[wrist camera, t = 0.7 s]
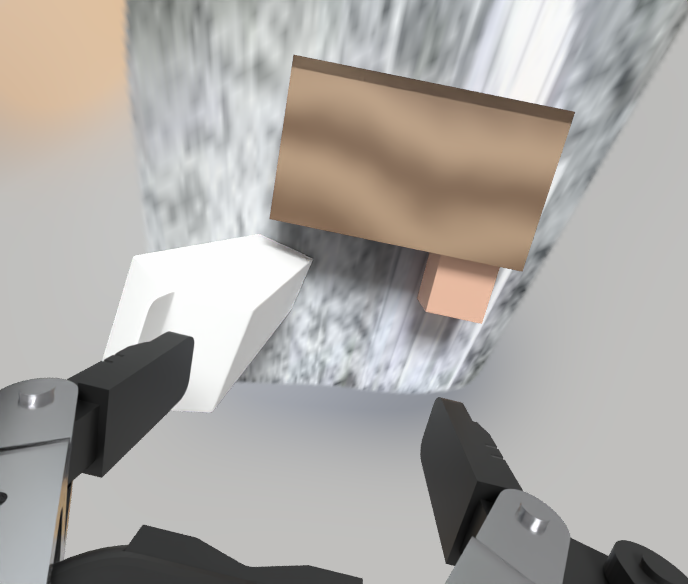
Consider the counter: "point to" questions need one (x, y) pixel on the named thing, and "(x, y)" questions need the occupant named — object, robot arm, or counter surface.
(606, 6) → the counter surface
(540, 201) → the wooden bench
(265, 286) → the milk
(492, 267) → the block
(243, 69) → the counter surface
